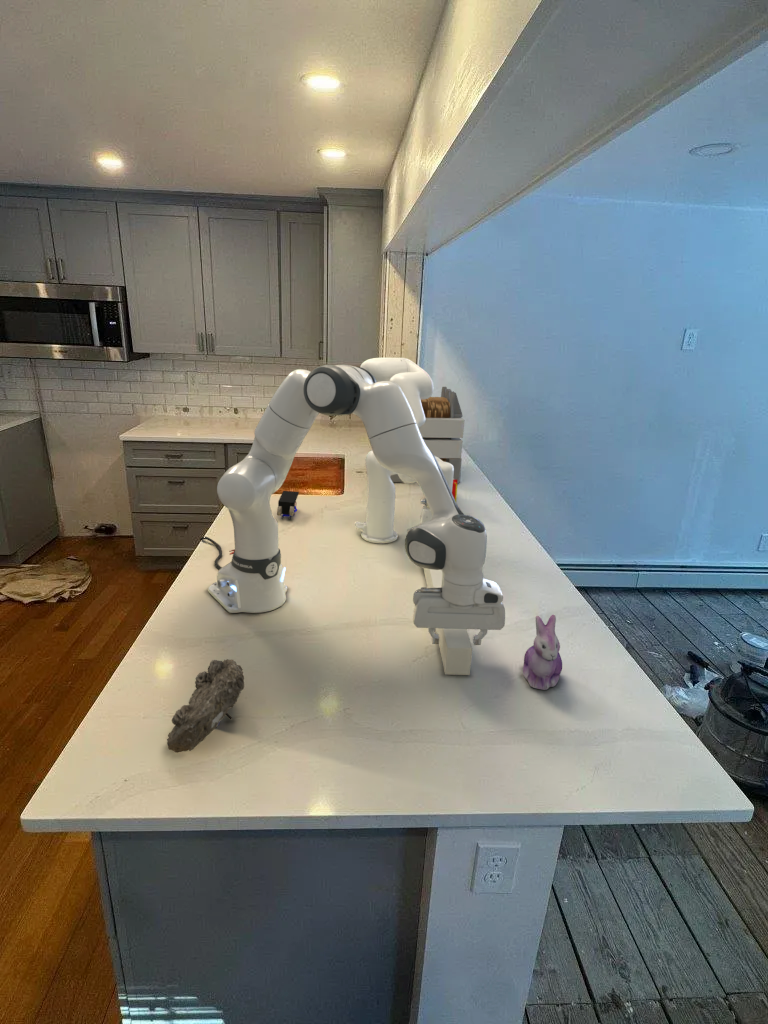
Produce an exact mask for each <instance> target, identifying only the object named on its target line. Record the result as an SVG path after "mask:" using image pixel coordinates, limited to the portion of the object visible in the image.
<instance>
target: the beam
mask: <svg viewBox="0 0 768 1024" xmlns="http://www.w3.org/2000/svg"><path fill="white" fill-rule="evenodd" d="M422 569H423V573H424V578H425V584H426V587H427V588H441V585H442V570H433V569H427V568H422ZM435 632H436V633H435V634H439V644H438V647H439V651H440V657H441V662H442V666H443V672H444V675H453V676H470V674H471V667H472V657H473V646H472V642H471V638H470V635H469V632H468V629H444V628H435Z"/></svg>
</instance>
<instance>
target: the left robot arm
mask: <svg viewBox="0 0 768 1024" xmlns="http://www.w3.org/2000/svg"><path fill="white" fill-rule="evenodd" d="M319 414H321V415H325V416H331V417H334V416H339V417H340V416H350V415H354V416H356V417H358V418H359V419H360V420H361V422H362V424H363V427H364V429H365V433H366V435H367V438H368V441H369V444H370V448H371V450H372V451H373V453H374V455H375V457H376V459H377V460H378V462H379V463H380V465H382V466H383V467H384V468H386V469H388V470H390V471H392V472H396V473H401V474H405V475H407V476H409V477H411V478H413V479H414V480H415V481H416V482H415V483H416V484H418V486H419V488H420V490H421V491H422V492H421V493H422V494H423V496H424V499H426V501H427V503H428V505H429V508H430V510H431V512H432V519H431V520H429V521H427V522H424V523H422V524H420V525H419V524H417V525H418V526H417V525H415V526H416V527H415V526H413V527H414V528H413V529H411V530H410V531H409V532H408V533H407V532H406V535H405V537H404V550H405V554H406V556H407V558H408V559H409V560H410V561H411V562H412V564H414V565H415V566H417V567H419V568H422V569H423V568H427V569H433V570H442V585H441V588H427V586H426V587H425V586H423V587H420V588H418V589H416V590H415V591H414V592H413V595H412V602H413V604H414V606H413V613H412V623H413V625H414V626H415V627H416V628H418V629H427V630H428V633H429V635H430V637H431V644H432V645H439V634H437V633H435V632H436V628H444V629H467V630H479V631H478V633H477V634H473V637H472V638H473V639H472V643H473V646H481V644H482V640H483V639H484V638H485V636H486V635H488V631H501V630H502V629H503V628H504V627H505V625H506V608H505V606H504V602H503V601H504V594H503V591H502V588H501V587H500V585H499V584H498V583H497V582H496V581H494V580H490V579H487V578H484V573H483V570H484V565H485V564H486V561H487V560H486V558H487V547H488V546H487V545H488V535H487V529H486V527H485V524H484V523H483V522H482V521H481V520H480V519H478V518H476V517H475V516H472V515H470V514H469V515H468V514H464V513H463V511H462V510H461V508H460V506H459V505H458V503H457V500H456V501H455V499H454V497H453V494H452V492H451V490H450V488H449V485H448V483H447V481H446V479H445V476H444V474H443V472H442V470H441V468H440V466H439V463H438V461H437V460H436V458H435V456H434V455H433V453H432V452H431V451H430V450H429V449H428V447H427V446H426V444H425V442H424V440H423V438H422V436H421V434H420V431H419V429H418V426H417V424H416V420H415V417H414V415H413V412H412V410H411V407H410V405H409V403H408V401H407V399H406V397H405V395H404V393H403V392H402V390H401V388H400V387H399V386H398V385H397V384H396V383H394V382H391V381H379V382H377V381H376V379H375V377H374V376H373V375H372V374H371V373H370V372H369V371H367V370H366V369H364V368H361V367H360V366H355V365H351V364H346V363H345V364H344V363H342V364H324V365H320V366H317V367H315V368H313V369H312V370H311V371H310V370H308V369H304V368H303V369H302V368H299V369H294V370H292V371H291V372H289V373H288V375H287V376H286V377H285V378H284V379H283V381H282V382H281V384H280V385H279V386H278V388H277V389H276V390H275V392H274V394H273V395H272V397H271V399H270V401H269V402H268V405H266V408H265V410H264V412H263V414H262V416H261V417H260V420H259V421H258V423H257V425H256V427H255V429H254V431H253V433H254V438H253V442H252V445H251V448H250V450H249V452H248V453H247V455H246V456H245V457H243V459H242V460H240V461H239V462H237V463H236V464H234V465H232V466H230V467H229V468H228V469H227V470H226V471H225V472H224V473H223V475H221V477H220V479H219V481H218V483H217V484H216V485H217V486H216V493H217V497H218V499H219V501H220V503H221V504H222V505H223V506H224V507H225V508H227V509H228V512H229V515H230V518H231V521H232V526H233V539H234V549H231V550H229V551H228V552H229V556H231V555H232V557H231V561H230V562H228V563H227V564H225V565H224V566H221V565H219V560H220V558H222V555H223V550H222V547H221V545H220V544H218V543H217V542H216V541H215V540H213V539H212V538H211V537H209V536H201V537H200V538H199V541H204V540H207V541H209V542H211V543H212V544H214V545H215V546H216V547H217V549H218V552H219V553H218V556H216V558H215V560H214V565H215V567H216V568H217V569H218V571H217V573H216V581H215V582H213V583H212V584H211V585H209V586H208V588H207V592H208V593H209V594H210V595H211V596H212V597H213V599H215V600H216V601H217V602H218V603H219V604H220V605H221V606H222V607H223V608H224V609H225V610H226V611H227V613H230V614H236V613H249V614H258V613H259V614H260V613H267V612H270V611H273V610H276V609H279V608H280V607H282V606H283V605H284V604H285V603H286V601H287V596H286V595H287V594H286V593H287V592H288V590H289V588H288V585H287V584H285V573H286V567H285V566H284V567H283V564H282V553H281V549H280V546H279V545H280V543H279V522H278V520H277V519H276V518H275V517H274V514H273V512H272V507H271V498H272V495H274V494H275V493H276V492H278V490H279V489H281V487H282V486H283V485H284V483H285V481H286V478H287V476H288V474H289V471H290V469H291V467H292V464H293V462H294V459H295V456H296V454H297V452H298V451H299V449H300V447H301V445H302V444H303V442H304V440H305V438H306V437H307V435H308V433H309V431H310V430H311V428H312V426H313V424H314V423H315V420H316V419H317V418H318V416H319ZM204 537H205V538H204Z"/></svg>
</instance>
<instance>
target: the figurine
mask: <svg viewBox="0 0 768 1024" xmlns="http://www.w3.org/2000/svg"><path fill="white" fill-rule="evenodd" d="M556 622H557V618H556V615H555V614H551V615H550V616H549V618H548V620H547V623H546V624H545V623H544V621H543V619H542V618H541V617H540V616H539V615H536V616H535V631H536V636H535V637H534V640H533V645H532V646H530V647H528V649H527V650H526V651H525V653H524V657H523V666H522V675H523V678H524V679H525V680H526V681H527V683H528V685H529V686H530V687H531V688H534V689H538V690H542V691H546V690H548V689H550V688H553V687H555V686H556V685H557V684H558V682H559V679H560V675H561V673H562V671H563V660H562V656H561V654H560V649H561V644H560V641H559V640H560V639H559V638H558V636H557V634H556Z"/></svg>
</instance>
